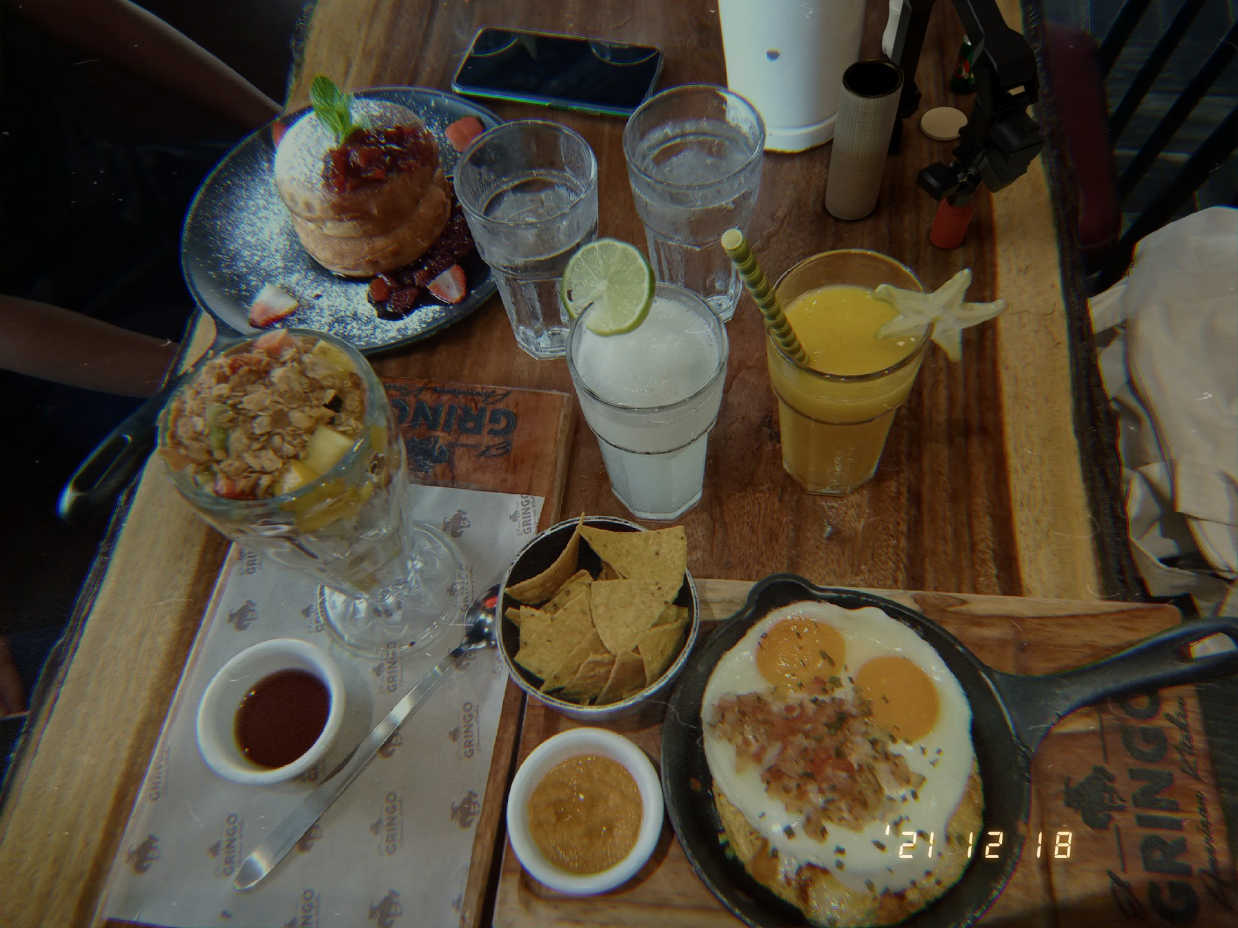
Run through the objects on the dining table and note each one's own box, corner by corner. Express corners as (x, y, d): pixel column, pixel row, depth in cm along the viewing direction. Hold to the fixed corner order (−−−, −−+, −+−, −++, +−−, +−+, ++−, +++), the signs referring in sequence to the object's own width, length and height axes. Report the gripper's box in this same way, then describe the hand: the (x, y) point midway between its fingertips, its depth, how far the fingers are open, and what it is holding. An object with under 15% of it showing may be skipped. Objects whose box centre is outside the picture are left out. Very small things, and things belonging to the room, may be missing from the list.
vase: (878, 186, 147) (907, 58, 122) (872, 223, 143) (900, 99, 118) (828, 182, 149) (846, 56, 124) (821, 219, 145) (838, 95, 121)
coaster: (923, 142, 150) (923, 139, 150) (918, 112, 154) (919, 108, 153) (969, 139, 149) (970, 135, 148) (963, 108, 153) (964, 105, 152)
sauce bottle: (931, 249, 138) (947, 203, 128) (927, 225, 141) (942, 178, 130) (965, 248, 137) (983, 201, 127) (960, 223, 140) (978, 176, 130)
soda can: (973, 78, 156) (990, 24, 145) (975, 94, 154) (993, 40, 143) (948, 80, 157) (963, 26, 146) (950, 96, 155) (966, 42, 144)
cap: (957, 210, 130) (962, 199, 127) (942, 197, 131) (946, 185, 129) (976, 200, 130) (981, 189, 128) (961, 187, 132) (965, 175, 129)
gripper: (972, 181, 112) (946, 251, 126) (1070, 128, 114) (1034, 203, 128) (924, 140, 117) (904, 212, 131) (1019, 90, 119) (989, 166, 133)
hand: (959, 199), depth 131 cm, fingers closed on cap, 4 cm apart
